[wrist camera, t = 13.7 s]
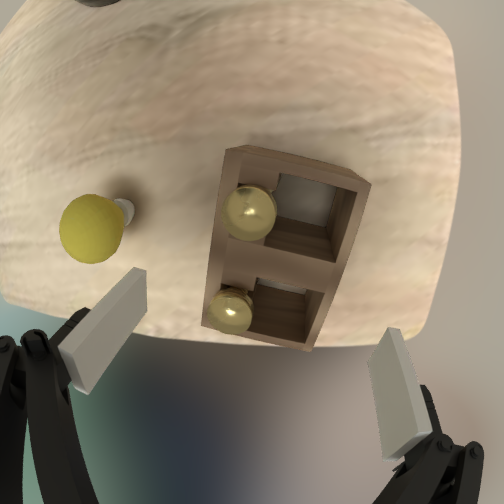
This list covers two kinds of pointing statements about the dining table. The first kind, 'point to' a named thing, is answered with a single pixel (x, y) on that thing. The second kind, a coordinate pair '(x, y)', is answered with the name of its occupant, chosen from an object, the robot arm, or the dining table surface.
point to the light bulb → (94, 227)
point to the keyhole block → (285, 248)
